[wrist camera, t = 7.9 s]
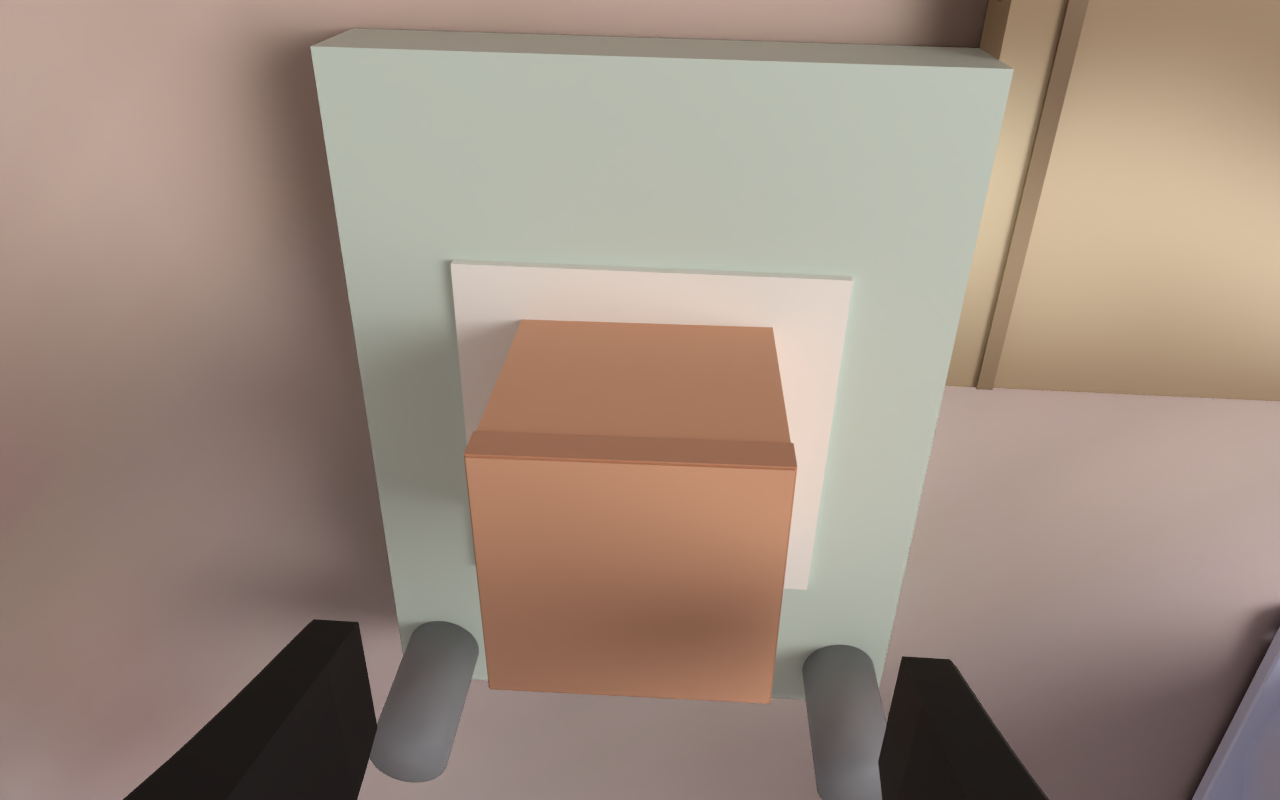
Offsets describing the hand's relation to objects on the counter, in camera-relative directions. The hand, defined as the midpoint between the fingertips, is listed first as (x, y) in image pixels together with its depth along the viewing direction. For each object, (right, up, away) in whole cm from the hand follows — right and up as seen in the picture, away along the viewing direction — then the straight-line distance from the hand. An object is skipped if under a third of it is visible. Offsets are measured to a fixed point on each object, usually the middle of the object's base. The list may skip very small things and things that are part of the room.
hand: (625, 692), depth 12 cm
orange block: (0, +3, +5) cm, 6 cm away
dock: (0, +4, +7) cm, 8 cm away
